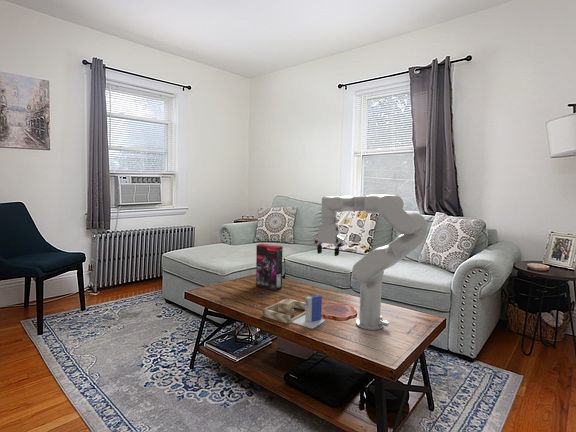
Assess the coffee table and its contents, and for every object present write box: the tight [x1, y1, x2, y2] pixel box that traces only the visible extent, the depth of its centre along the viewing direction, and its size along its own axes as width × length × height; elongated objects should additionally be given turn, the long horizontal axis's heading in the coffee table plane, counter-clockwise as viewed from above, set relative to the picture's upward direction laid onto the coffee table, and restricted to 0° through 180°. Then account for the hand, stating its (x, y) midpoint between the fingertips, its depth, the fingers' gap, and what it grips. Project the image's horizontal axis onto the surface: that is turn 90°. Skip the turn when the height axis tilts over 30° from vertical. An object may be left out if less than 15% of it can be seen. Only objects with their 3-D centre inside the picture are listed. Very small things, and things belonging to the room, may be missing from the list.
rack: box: [262, 298, 306, 324], centre depth 177 cm, size 16×21×4 cm
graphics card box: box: [255, 243, 284, 291], centre depth 221 cm, size 17×7×27 cm, turn 54°
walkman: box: [304, 293, 323, 323], centre depth 167 cm, size 8×3×12 cm, turn 122°
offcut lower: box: [276, 308, 295, 318], centre depth 172 cm, size 6×6×4 cm
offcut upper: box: [277, 298, 294, 313], centre depth 171 cm, size 6×6×4 cm
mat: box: [290, 315, 326, 330], centre depth 167 cm, size 12×12×1 cm
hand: (327, 254), depth 177 cm, fingers open, 9 cm apart
